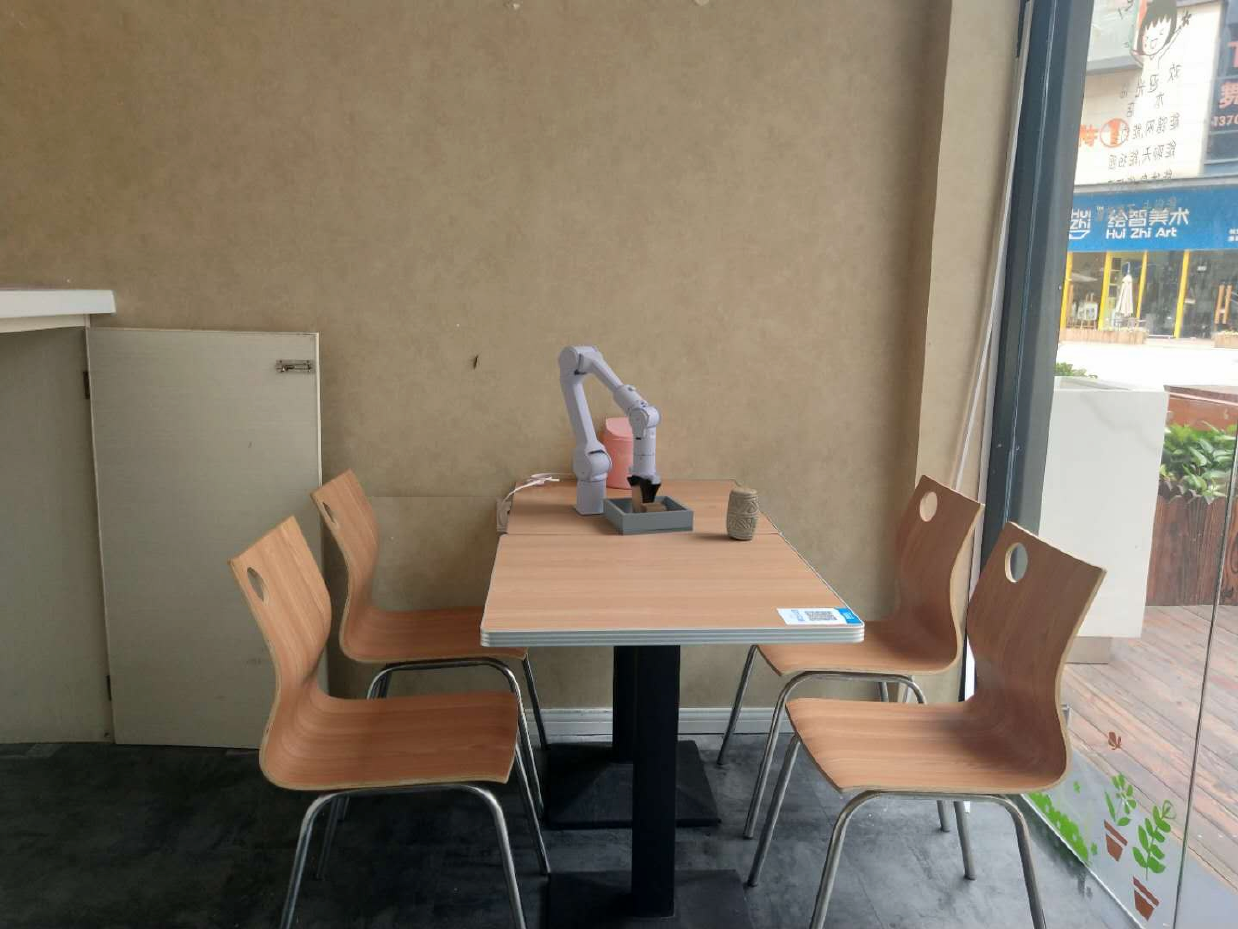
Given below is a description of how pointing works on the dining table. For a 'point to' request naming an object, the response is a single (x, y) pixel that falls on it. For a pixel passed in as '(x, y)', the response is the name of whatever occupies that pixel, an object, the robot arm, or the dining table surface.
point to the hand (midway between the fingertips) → (643, 506)
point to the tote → (647, 516)
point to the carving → (742, 513)
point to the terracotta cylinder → (636, 498)
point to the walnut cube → (652, 507)
